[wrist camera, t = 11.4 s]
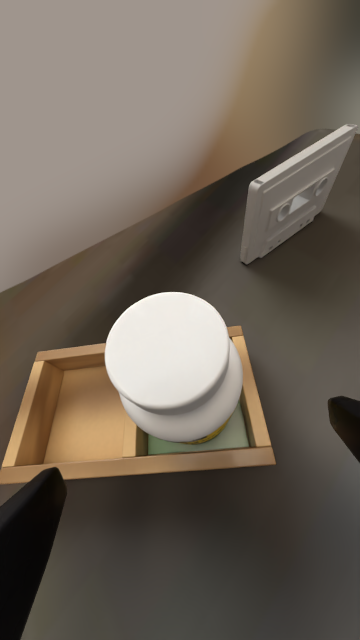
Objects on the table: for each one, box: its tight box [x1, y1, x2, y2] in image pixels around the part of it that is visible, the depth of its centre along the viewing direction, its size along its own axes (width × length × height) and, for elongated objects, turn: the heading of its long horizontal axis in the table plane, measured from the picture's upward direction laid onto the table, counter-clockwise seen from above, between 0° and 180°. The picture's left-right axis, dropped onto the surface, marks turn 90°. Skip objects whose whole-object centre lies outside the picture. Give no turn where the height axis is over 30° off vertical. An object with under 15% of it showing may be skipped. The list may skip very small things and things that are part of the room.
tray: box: [0, 326, 276, 484], centre depth 15 cm, size 8×15×3 cm, turn 94°
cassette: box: [240, 124, 358, 264], centre depth 20 cm, size 12×2×8 cm, turn 127°
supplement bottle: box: [105, 292, 243, 445], centre depth 11 cm, size 5×5×10 cm
